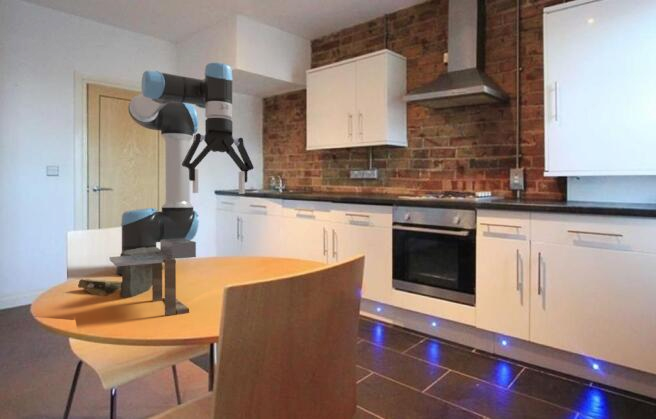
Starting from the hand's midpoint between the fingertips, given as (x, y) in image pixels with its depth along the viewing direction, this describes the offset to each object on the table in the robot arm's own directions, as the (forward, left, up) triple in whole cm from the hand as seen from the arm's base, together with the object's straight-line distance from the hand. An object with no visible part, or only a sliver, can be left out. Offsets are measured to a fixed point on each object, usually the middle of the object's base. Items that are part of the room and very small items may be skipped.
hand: (219, 193), depth 116 cm
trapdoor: (-1, -15, -17) cm, 23 cm away
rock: (-31, -33, -31) cm, 54 cm away
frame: (-1, -15, -31) cm, 35 cm away
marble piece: (-19, -18, -31) cm, 41 cm away
